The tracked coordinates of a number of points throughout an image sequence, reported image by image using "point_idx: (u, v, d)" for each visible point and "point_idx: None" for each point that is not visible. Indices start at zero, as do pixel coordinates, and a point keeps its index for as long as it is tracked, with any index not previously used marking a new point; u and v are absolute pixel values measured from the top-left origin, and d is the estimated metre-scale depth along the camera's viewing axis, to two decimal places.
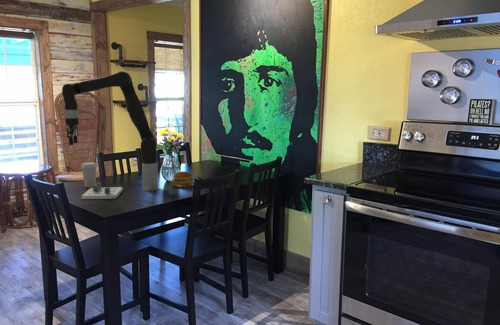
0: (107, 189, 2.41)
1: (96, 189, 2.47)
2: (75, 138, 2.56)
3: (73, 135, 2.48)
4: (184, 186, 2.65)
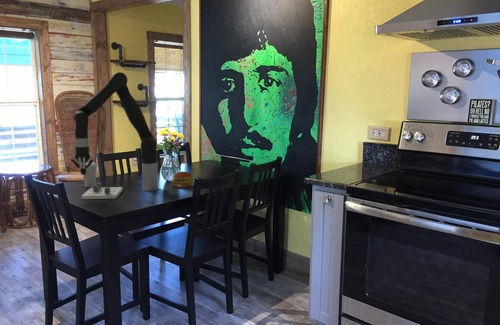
0: (107, 189, 2.41)
1: (96, 189, 2.47)
2: None
3: None
4: (184, 186, 2.65)
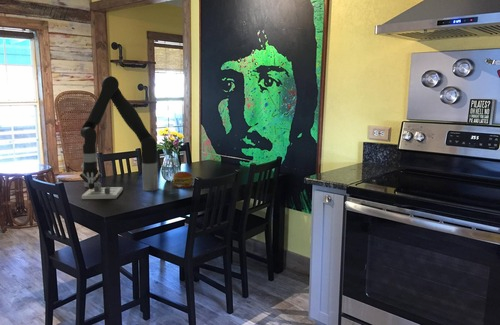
0: (107, 189, 2.41)
1: (97, 189, 2.47)
2: None
3: None
4: (184, 186, 2.65)
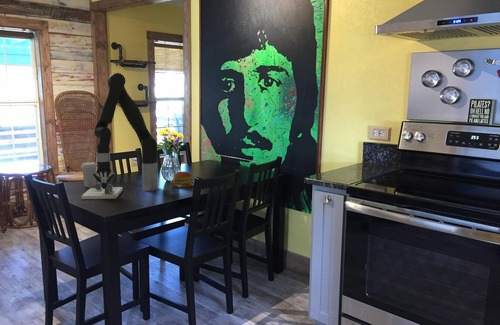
0: (107, 189, 2.41)
1: (110, 189, 2.47)
2: None
3: None
4: (184, 186, 2.65)
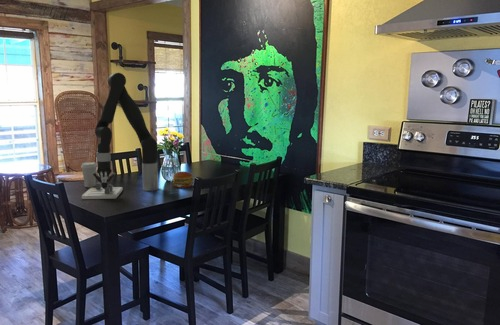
0: (107, 189, 2.41)
1: (110, 189, 2.48)
2: None
3: None
4: (184, 186, 2.65)
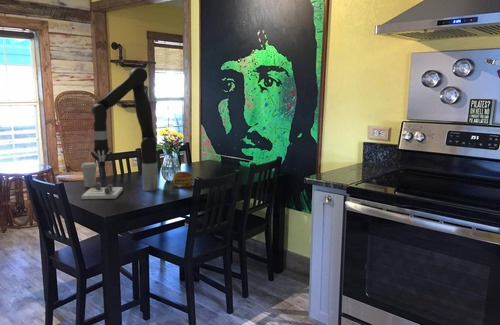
0: (107, 189, 2.41)
1: (110, 189, 2.47)
2: None
3: None
4: (184, 186, 2.65)
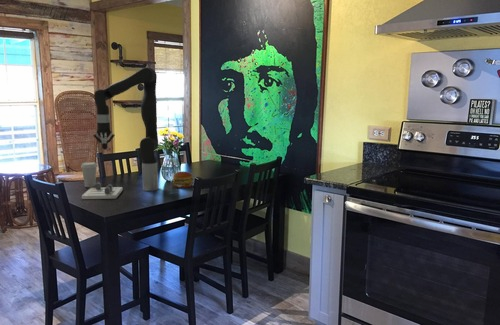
0: (107, 189, 2.41)
1: (110, 189, 2.47)
2: None
3: None
4: (184, 186, 2.65)
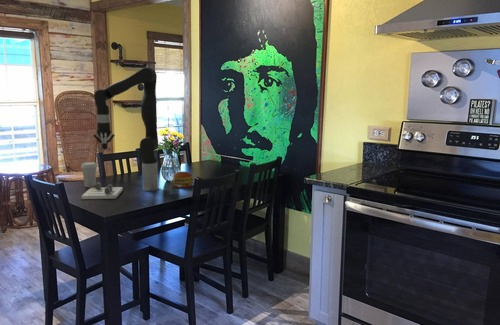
0: (107, 189, 2.41)
1: (110, 189, 2.47)
2: None
3: None
4: (184, 186, 2.65)
